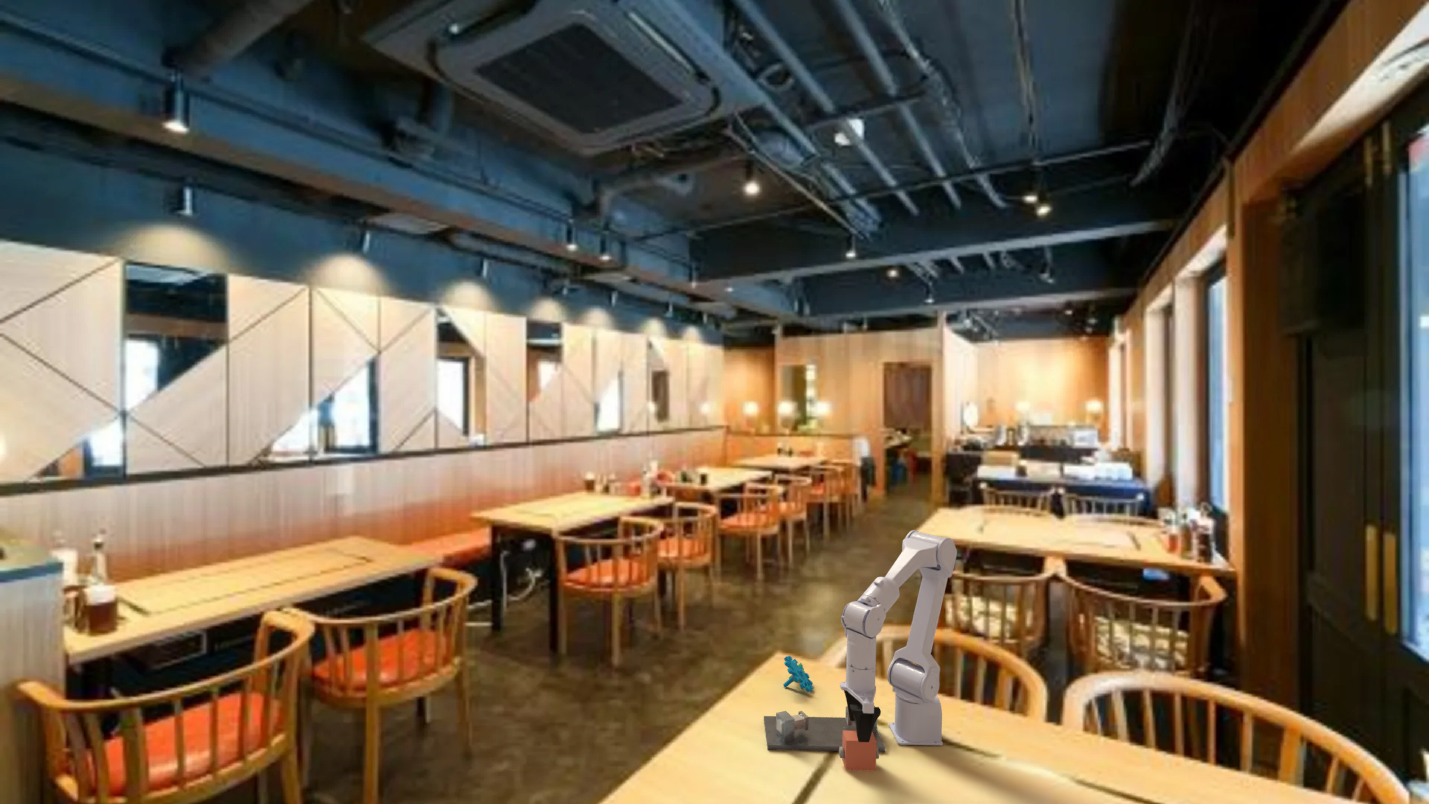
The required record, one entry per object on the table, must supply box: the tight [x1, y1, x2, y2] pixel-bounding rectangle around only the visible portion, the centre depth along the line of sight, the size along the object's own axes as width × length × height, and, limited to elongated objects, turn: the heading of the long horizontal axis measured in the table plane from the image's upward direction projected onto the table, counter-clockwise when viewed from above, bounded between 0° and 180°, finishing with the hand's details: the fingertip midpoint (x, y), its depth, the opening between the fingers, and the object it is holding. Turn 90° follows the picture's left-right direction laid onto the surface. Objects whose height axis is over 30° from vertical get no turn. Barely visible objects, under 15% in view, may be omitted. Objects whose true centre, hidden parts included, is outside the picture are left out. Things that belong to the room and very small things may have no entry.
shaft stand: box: [763, 705, 886, 753], centre depth 136 cm, size 24×12×6 cm, turn 90°
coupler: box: [838, 731, 880, 772], centre depth 126 cm, size 8×4×6 cm, turn 90°
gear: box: [783, 655, 814, 693], centre depth 158 cm, size 11×6×10 cm
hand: (859, 730), depth 126 cm, fingers open, 7 cm apart
